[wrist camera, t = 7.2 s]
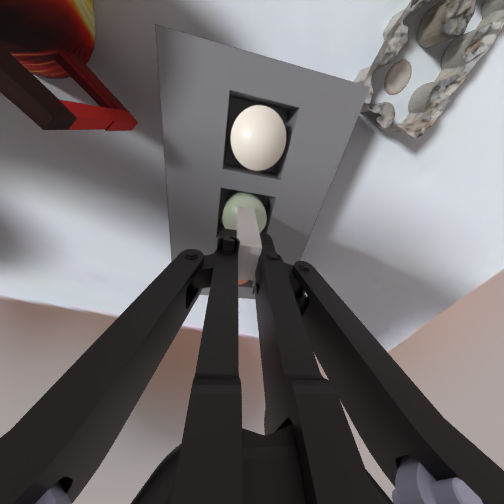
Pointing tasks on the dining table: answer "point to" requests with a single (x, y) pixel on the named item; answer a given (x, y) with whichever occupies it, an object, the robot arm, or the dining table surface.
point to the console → (219, 140)
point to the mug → (55, 64)
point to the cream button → (258, 137)
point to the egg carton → (453, 61)
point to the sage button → (243, 200)
